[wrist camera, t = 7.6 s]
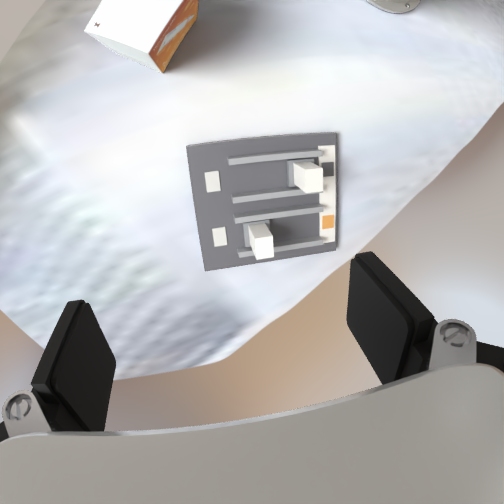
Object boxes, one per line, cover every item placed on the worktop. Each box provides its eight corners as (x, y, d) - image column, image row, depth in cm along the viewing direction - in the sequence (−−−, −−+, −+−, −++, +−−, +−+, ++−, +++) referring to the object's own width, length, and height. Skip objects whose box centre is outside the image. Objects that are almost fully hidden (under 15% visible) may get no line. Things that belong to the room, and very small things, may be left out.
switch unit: (332, 132, 37) (340, 134, 35) (333, 247, 44) (340, 254, 42) (186, 145, 35) (185, 148, 33) (204, 267, 42) (205, 276, 40)
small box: (163, 74, 31) (148, 56, 19) (116, 55, 29) (80, 31, 17) (199, 17, 29) (203, -25, 17) (152, -2, 26) (135, -48, 15)
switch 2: (311, 157, 37) (327, 164, 33) (312, 182, 39) (328, 193, 34) (286, 159, 37) (299, 167, 32) (287, 185, 38) (300, 196, 34)
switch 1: (267, 217, 40) (277, 232, 35) (269, 241, 41) (279, 258, 37) (242, 221, 39) (249, 236, 35) (244, 244, 41) (251, 263, 36)
